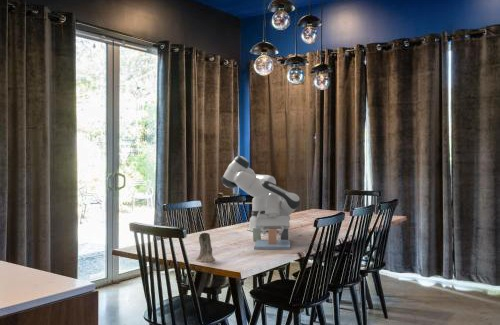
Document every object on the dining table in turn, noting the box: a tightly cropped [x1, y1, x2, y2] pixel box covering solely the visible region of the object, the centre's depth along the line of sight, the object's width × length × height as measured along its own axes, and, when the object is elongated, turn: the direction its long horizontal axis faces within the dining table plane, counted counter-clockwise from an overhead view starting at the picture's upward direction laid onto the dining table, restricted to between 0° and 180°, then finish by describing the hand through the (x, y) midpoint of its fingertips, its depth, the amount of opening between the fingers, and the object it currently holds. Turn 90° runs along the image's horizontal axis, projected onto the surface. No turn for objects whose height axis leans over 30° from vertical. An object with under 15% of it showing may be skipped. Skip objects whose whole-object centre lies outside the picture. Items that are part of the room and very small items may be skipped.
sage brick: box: [252, 227, 262, 242], centre depth 272 cm, size 4×4×8 cm
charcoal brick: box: [280, 229, 289, 240], centre depth 270 cm, size 4×4×8 cm
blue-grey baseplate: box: [253, 239, 291, 250], centre depth 256 cm, size 20×20×2 cm
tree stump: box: [195, 232, 216, 263], centre depth 224 cm, size 10×10×13 cm
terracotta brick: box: [267, 229, 278, 244], centre depth 256 cm, size 4×4×8 cm
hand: (272, 234), depth 255 cm, fingers open, 8 cm apart
